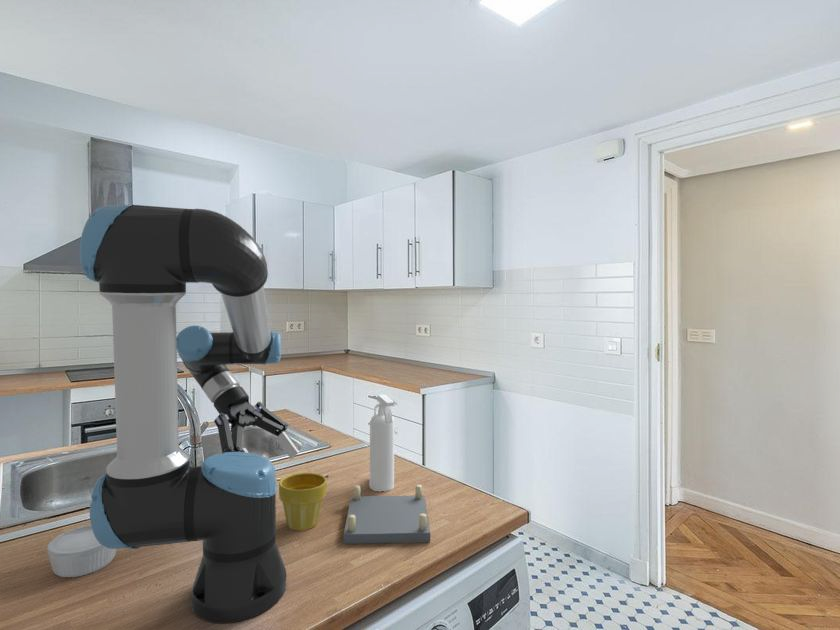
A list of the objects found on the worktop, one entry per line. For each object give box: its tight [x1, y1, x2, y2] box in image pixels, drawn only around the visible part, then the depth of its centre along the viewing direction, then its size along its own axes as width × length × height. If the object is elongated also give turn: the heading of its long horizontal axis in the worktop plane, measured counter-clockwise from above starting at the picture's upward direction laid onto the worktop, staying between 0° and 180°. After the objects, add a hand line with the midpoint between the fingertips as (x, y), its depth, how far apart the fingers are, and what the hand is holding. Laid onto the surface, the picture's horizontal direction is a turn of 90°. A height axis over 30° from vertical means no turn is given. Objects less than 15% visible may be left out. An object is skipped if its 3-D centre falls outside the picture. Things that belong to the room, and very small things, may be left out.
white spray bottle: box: [369, 393, 396, 493], centre depth 123 cm, size 7×12×25 cm, turn 25°
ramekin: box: [46, 524, 118, 578], centre depth 87 cm, size 11×11×5 cm
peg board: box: [343, 484, 431, 545], centre depth 104 cm, size 18×18×5 cm
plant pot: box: [278, 472, 328, 532], centre depth 103 cm, size 10×10×10 cm
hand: (277, 465), depth 106 cm, fingers open, 13 cm apart
